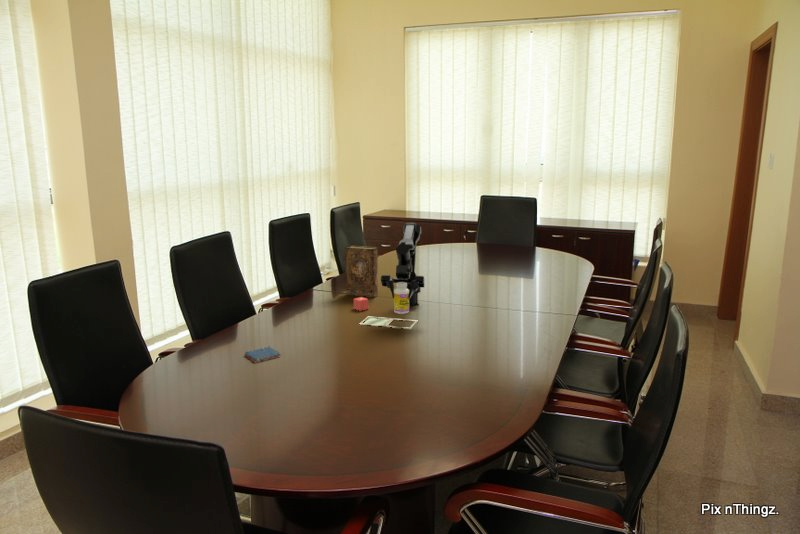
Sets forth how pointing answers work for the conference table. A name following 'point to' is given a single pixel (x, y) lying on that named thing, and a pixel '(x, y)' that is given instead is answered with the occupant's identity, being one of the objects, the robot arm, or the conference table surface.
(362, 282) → the book
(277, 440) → the conference table surface
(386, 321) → the silver picture frame
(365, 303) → the red die
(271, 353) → the woven mat
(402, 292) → the supplement bottle
